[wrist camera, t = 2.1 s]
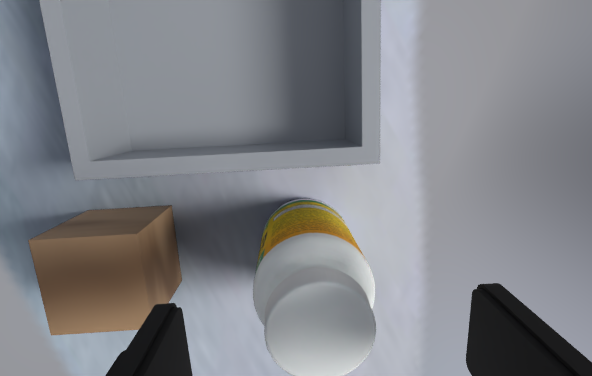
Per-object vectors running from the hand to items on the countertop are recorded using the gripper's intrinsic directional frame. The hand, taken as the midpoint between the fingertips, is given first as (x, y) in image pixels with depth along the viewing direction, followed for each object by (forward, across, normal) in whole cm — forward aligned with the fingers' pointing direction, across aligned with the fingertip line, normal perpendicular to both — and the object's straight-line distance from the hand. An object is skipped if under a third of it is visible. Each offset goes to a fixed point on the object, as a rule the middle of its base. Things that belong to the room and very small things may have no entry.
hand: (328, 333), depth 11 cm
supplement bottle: (+11, 0, +1) cm, 11 cm away
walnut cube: (+11, +11, +1) cm, 15 cm away
